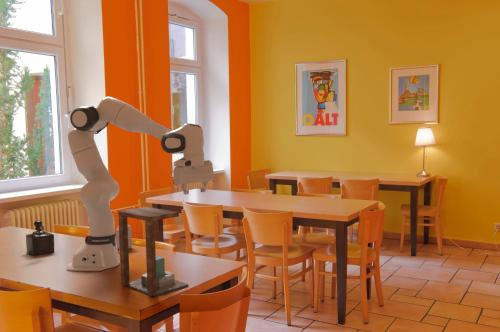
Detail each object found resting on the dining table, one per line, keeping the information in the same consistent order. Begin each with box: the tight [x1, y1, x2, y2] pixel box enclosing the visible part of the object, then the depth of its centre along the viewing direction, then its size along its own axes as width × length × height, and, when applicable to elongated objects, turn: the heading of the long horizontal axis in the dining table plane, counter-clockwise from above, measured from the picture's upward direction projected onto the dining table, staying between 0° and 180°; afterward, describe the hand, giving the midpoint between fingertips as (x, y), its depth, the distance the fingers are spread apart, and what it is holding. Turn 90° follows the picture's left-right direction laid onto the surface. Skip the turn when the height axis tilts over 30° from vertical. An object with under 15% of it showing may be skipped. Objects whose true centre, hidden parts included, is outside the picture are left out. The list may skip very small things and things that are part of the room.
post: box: [156, 255, 166, 278], centre depth 190 cm, size 4×4×10 cm
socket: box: [123, 270, 189, 298], centre depth 189 cm, size 16×20×4 cm
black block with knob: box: [25, 219, 55, 257], centre depth 242 cm, size 16×11×18 cm
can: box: [115, 224, 133, 251], centre depth 250 cm, size 8×8×12 cm
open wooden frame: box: [117, 206, 180, 297], centre depth 186 cm, size 13×21×29 cm, turn 46°
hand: (194, 193), depth 210 cm, fingers open, 8 cm apart
